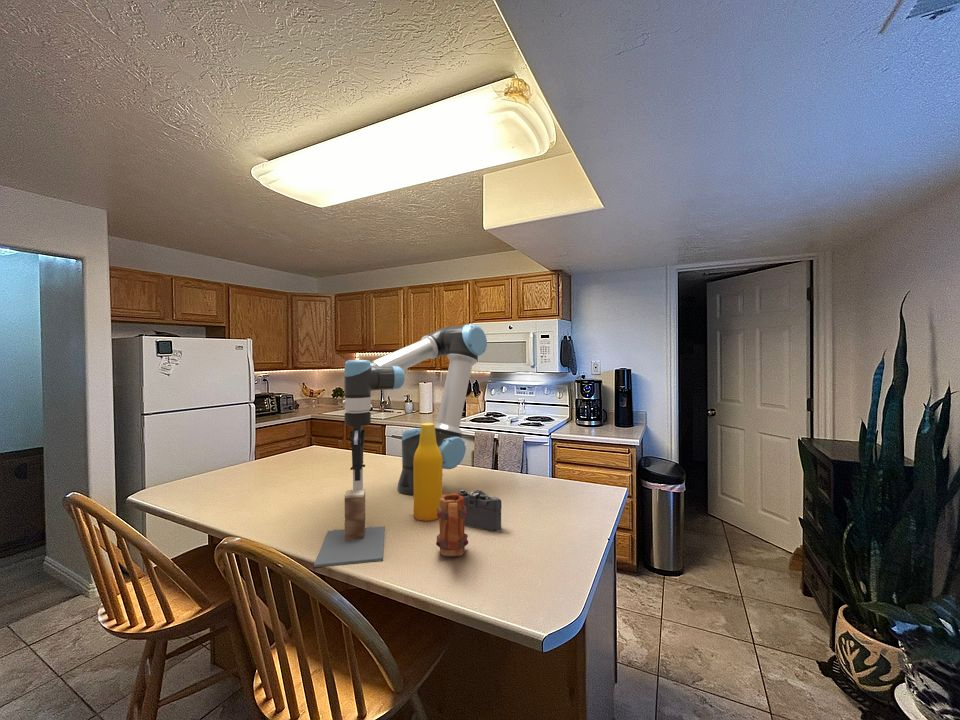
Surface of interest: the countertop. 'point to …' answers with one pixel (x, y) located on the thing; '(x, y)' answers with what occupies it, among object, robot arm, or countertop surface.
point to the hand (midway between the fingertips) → (357, 490)
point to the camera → (482, 510)
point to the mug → (452, 525)
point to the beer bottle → (427, 475)
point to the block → (355, 514)
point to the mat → (351, 548)
